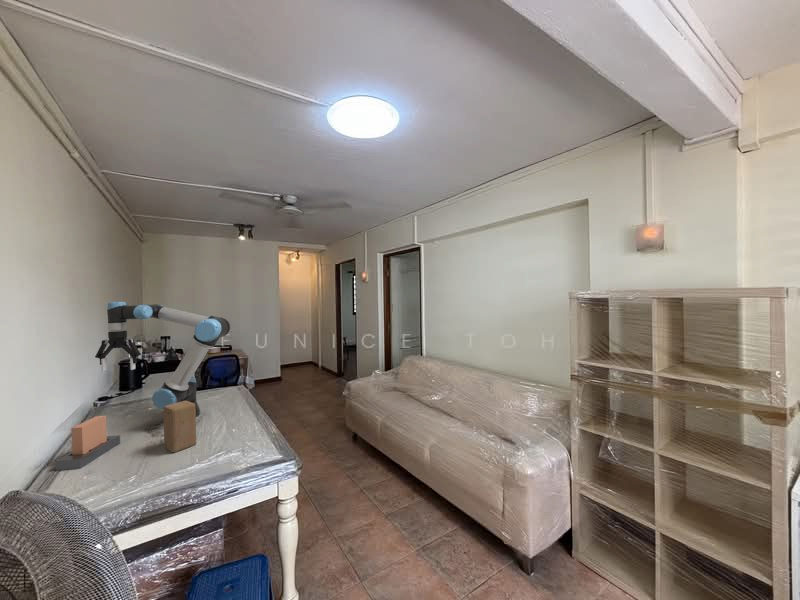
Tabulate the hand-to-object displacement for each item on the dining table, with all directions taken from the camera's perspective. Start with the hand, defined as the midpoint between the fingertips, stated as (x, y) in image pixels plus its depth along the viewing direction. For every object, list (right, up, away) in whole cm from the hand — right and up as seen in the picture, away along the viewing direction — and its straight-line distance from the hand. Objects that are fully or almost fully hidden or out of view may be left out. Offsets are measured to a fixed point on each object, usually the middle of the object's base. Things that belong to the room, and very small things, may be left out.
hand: (118, 370), depth 168 cm
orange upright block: (+13, -31, -28) cm, 44 cm away
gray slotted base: (+13, -32, -28) cm, 45 cm away
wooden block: (+48, -32, -20) cm, 61 cm away
